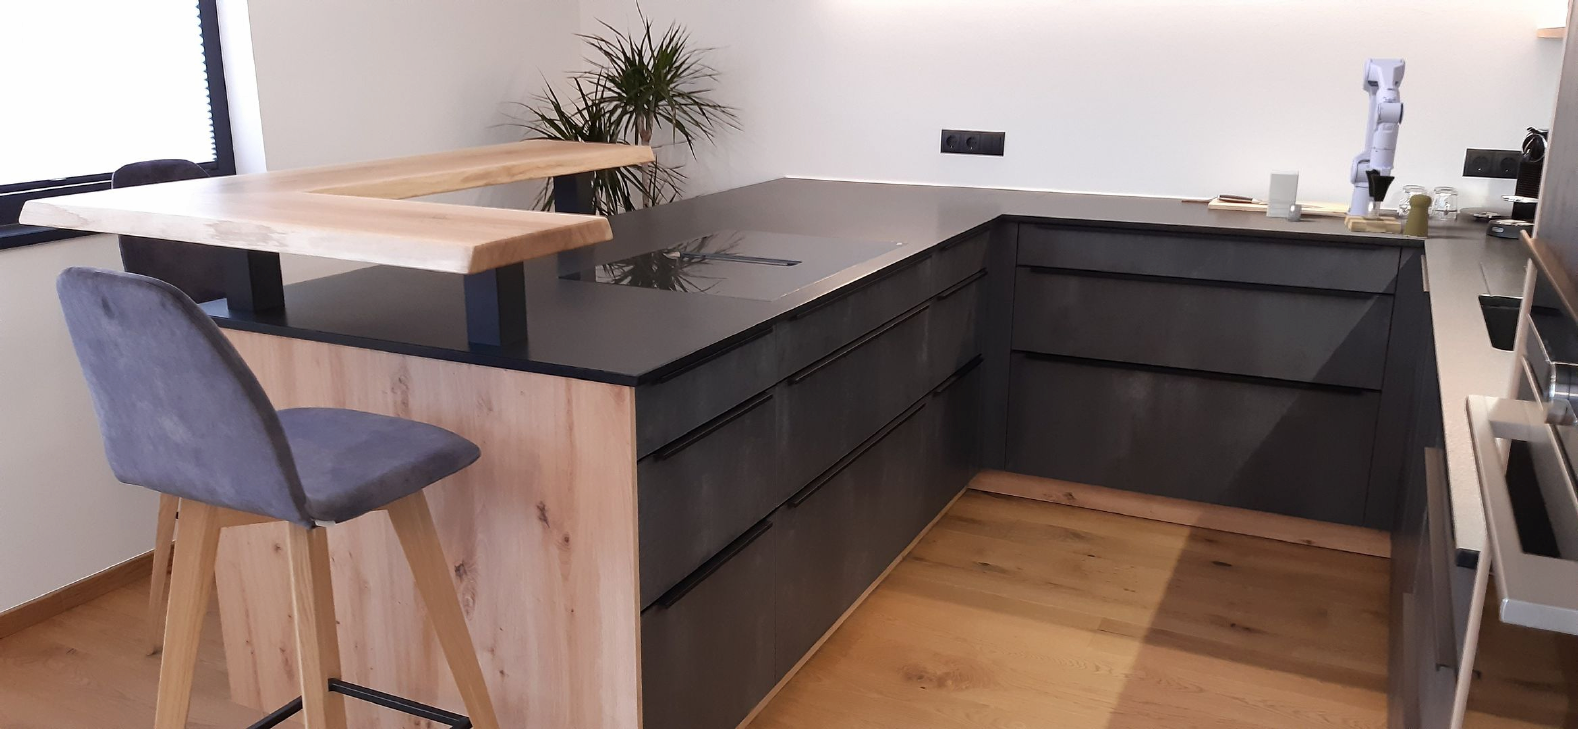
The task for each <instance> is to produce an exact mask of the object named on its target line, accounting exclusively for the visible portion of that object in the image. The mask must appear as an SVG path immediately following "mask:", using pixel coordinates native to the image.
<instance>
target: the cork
mask: <svg viewBox="0 0 1578 729" xmlns="http://www.w3.org/2000/svg"><path fill="white" fill-rule="evenodd" d="M1432 199H1433V198H1432V196H1430V195H1427V194H1420V193H1418V194H1413V195H1411V196H1410V197H1409V199H1408V201H1409V202H1408V204H1409V206H1410V209H1409V212H1408V215H1407V218H1406V222H1405V226H1404V228H1403V231H1402V234H1403V235H1410V236H1417V237H1428V238H1429V208H1430V207H1431V205H1432V202H1433V200H1432Z"/></svg>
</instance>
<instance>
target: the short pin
mask: <svg viewBox="0 0 1578 729" xmlns="http://www.w3.org/2000/svg"><path fill="white" fill-rule="evenodd" d="M1302 207H1303V205H1302V204H1297V203H1295V204H1290V206H1289V213H1288V218H1287V222H1291V223H1299V222H1301V214H1302Z"/></svg>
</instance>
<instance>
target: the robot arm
mask: <svg viewBox="0 0 1578 729" xmlns="http://www.w3.org/2000/svg"><path fill="white" fill-rule="evenodd" d="M1405 69H1406V61H1405V60H1404V58H1400V59H1397V58H1396V59H1395V58H1393V59H1391V58H1371V57H1369V58H1367V59H1366V60H1365V64H1364V69H1363V76H1362V90H1363V91H1365V92H1366V93H1368V97H1369V105H1368V106H1369V107H1368V115H1367V117H1368V118H1367V123H1366V124H1367V125H1366V132H1365V133H1366V134H1365V144H1364V150H1363V151H1362V152H1359V153H1358V154H1356V155H1355V156H1354V157H1353V159H1352V163H1351V164H1352V165H1351V168H1350V175H1349V181H1350V183H1351V184H1352V185H1353V186H1354V187H1353V191H1352V196H1351V202H1350V203H1351V204H1350V208H1349V211H1346V212H1345V213H1346V215H1363V216H1366V210H1367V203H1368V201H1370V200H1373V201H1375V202H1381V203H1383V202H1384V200H1385V198H1386V195H1387V193H1388V190H1389V188H1390V186H1391V184H1392V183H1393V182H1394V181H1395V178H1396V177H1395V175H1394V176H1393V175H1391V174H1392V170H1394V168H1395V165H1394V162H1395V156H1396V148H1397V142H1398V137H1399V136H1398V135H1399V129H1400V125H1401V124H1402V121H1403V118H1404V115H1405V114H1404V113H1405V104H1404V102H1403V101H1401V96H1400V90H1399V88H1400V86H1401V84H1402V81H1403V79H1404V77H1405V71H1406V70H1405Z"/></svg>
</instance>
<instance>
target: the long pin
mask: <svg viewBox="0 0 1578 729" xmlns="http://www.w3.org/2000/svg"><path fill="white" fill-rule="evenodd" d="M1381 203H1382V202H1375V201H1373V200H1370V201H1368V203H1367V210H1366V217H1365V220H1368V221H1378V218H1379V216H1380V209H1381V205H1382V204H1381Z"/></svg>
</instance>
